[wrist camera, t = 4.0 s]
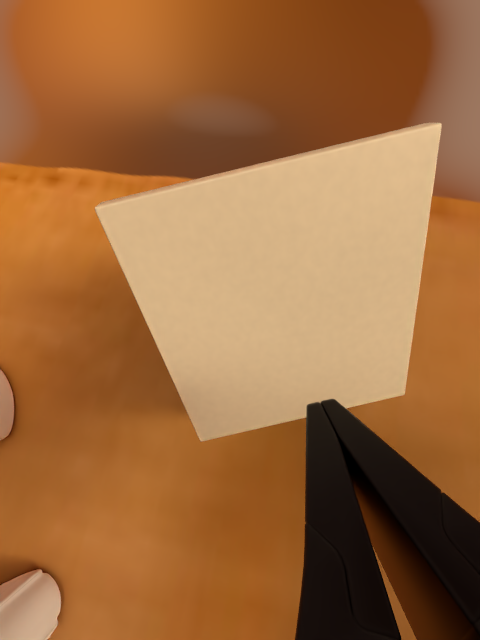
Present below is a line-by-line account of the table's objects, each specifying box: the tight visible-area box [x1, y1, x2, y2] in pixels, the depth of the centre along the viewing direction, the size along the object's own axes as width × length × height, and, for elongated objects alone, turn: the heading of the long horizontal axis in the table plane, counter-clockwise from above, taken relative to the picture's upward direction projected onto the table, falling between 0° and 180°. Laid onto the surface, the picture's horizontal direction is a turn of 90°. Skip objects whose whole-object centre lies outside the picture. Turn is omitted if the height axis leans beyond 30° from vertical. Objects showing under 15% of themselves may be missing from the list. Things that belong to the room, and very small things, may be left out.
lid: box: [95, 123, 442, 441], centre depth 12 cm, size 11×10×1 cm
